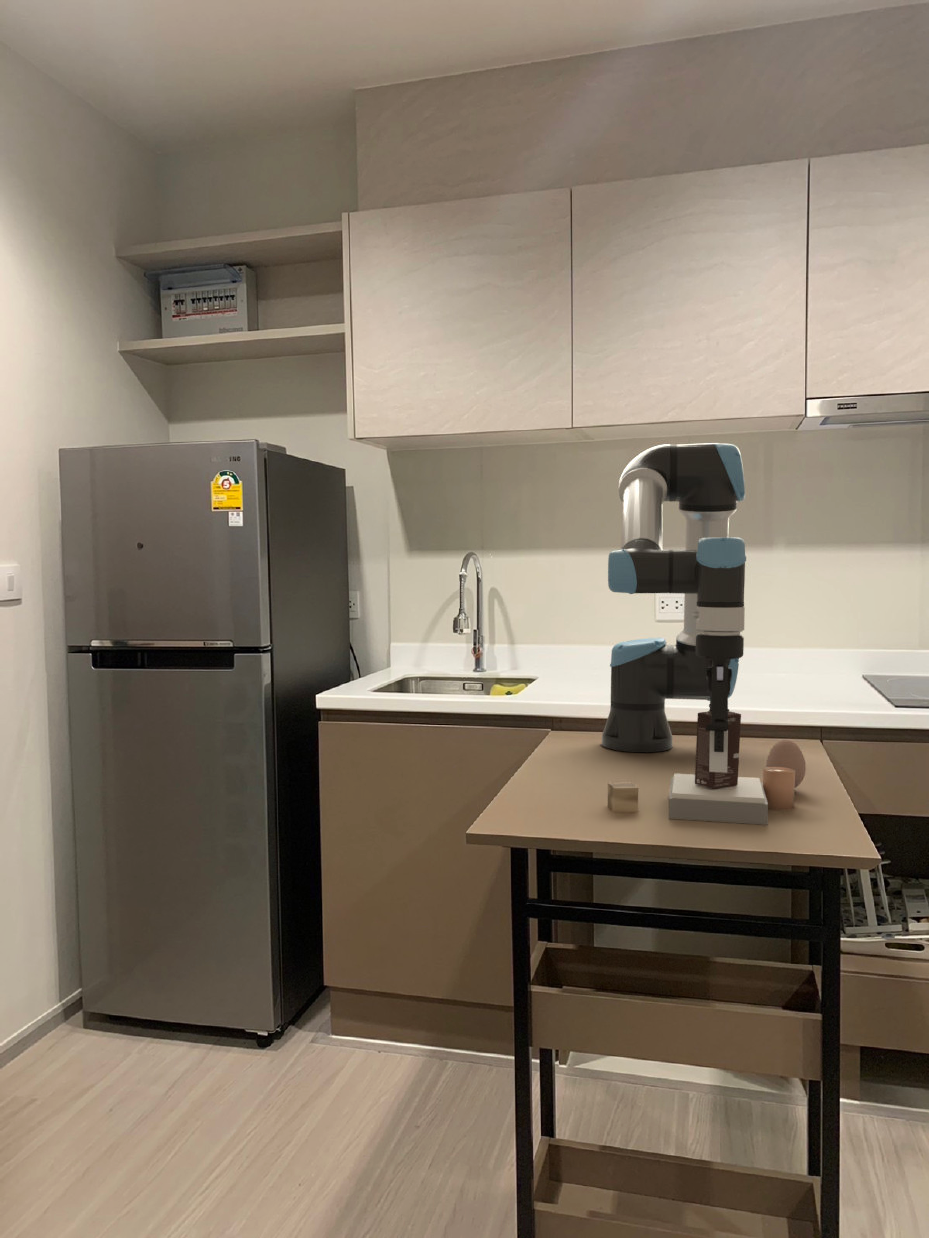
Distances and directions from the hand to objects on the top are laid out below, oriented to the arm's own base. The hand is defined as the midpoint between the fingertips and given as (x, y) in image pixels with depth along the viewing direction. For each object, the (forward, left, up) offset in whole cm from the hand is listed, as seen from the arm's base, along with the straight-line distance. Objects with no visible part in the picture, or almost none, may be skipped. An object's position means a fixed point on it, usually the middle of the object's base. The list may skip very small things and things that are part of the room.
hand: (717, 762), depth 157 cm
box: (0, 0, -4) cm, 4 cm away
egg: (-16, +12, -8) cm, 22 cm away
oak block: (+3, -15, -8) cm, 17 cm away
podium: (0, 0, -8) cm, 8 cm away
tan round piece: (-5, +10, -8) cm, 14 cm away
